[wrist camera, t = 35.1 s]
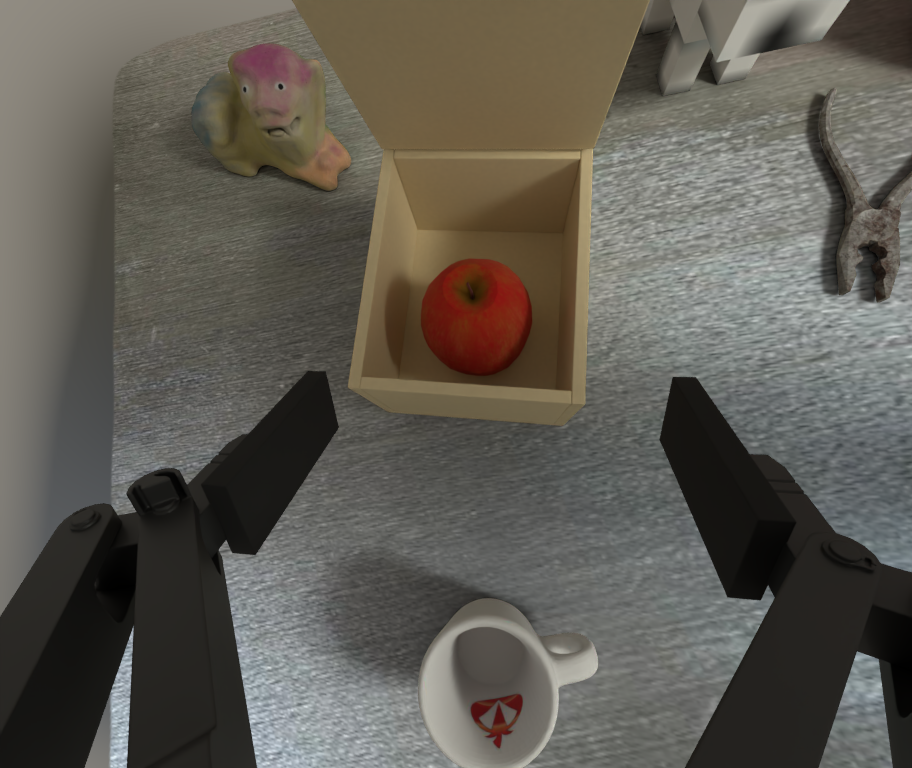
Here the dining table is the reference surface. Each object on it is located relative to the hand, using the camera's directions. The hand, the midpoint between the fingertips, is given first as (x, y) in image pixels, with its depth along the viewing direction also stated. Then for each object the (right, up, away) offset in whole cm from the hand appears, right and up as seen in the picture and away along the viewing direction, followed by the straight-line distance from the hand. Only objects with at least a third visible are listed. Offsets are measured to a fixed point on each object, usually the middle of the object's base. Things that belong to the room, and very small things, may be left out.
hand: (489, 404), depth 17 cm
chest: (+1, +6, +21) cm, 22 cm away
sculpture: (-18, +24, +27) cm, 41 cm away
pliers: (+35, +17, +19) cm, 43 cm away
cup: (+3, -18, +15) cm, 24 cm away
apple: (+1, +4, +20) cm, 20 cm away
